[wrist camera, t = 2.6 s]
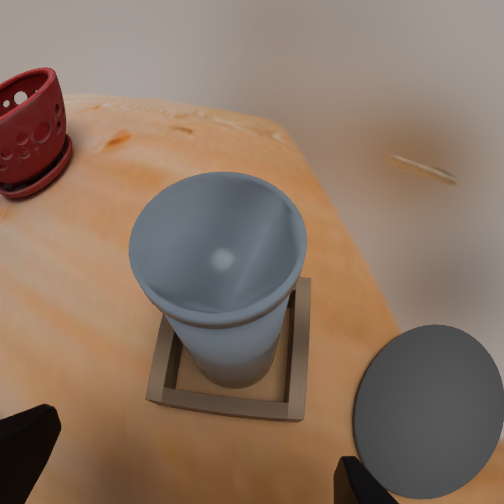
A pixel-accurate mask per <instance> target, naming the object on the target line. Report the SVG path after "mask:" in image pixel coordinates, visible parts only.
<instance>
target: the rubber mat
mask: <svg viewBox="0 0 504 504" xmlns="http://www.w3.org/2000/svg"><path fill="white" fill-rule="evenodd" d="M503 421H504V389H503V384H502V380H501V377H500V374H499V371H498V368H497V366H496V364H495V363H494V361H493V359H492V357H491V356H490V354H489V353H488V352H487V350H486V349H485V348H484V347H483V346H482V345H481V344H480V343H479V342H478V341H477V340H476V339H475V338H473V337H472V336H470V335H469V334H467V333H465V332H464V331H462V330H459V329H457V328H454V327H450V326H445V325H426V326H421V327H417V328H414V329H412V330H409V331H407V332H405V333H403V334H401V335H400V336H398V337H397V338H395V339H394V340H393V341H391V342H390V343H389V344H388V345H386V346H385V347H384V348H383V349H382V350H381V351H380V352H379V353H378V354H377V355H376V357H375V358H374V359H373V361H372V362H371V363H370V365H369V366H368V368H367V370H366V371H365V373H364V375H363V377H362V380H361V382H360V384H359V387H358V390H357V393H356V397H355V402H354V407H353V419H352V422H353V436H354V441H355V446H356V449H357V452H358V455H359V457H360V460H361V462H362V464H363V465H364V467H365V468H366V469H367V470H368V471H369V472H370V473H371V474H372V475H373V476H374V477H375V479H376V480H377V481H378V482H379V483H380V484H381V485H382V486H383V487H384V488H385V489H386V490H388V491H390V492H392V493H394V494H397V495H400V496H404V497H407V498H413V499H432V498H437V497H441V496H444V495H447V494H450V493H452V492H454V491H456V490H458V489H460V488H461V487H462V486H464V485H465V484H467V483H468V482H469V481H470V480H472V479H473V478H474V477H475V476H476V475H477V474H478V473H479V472H480V471H481V469H482V468H483V467H484V466H485V464H486V463H487V461H488V460H489V459H490V457H491V455H492V453H493V451H494V450H495V447H496V445H497V443H498V440H499V438H500V434H501V431H502V427H503Z"/></svg>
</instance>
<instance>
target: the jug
mask: <svg viewBox="0 0 504 504" xmlns="http://www.w3.org/2000/svg"><path fill="white" fill-rule="evenodd" d="M306 247H307V235H306V229H305V225H304V222H303V219H302V217H301V214H300V213H299V211H298V209H297V207H296V206H295V205H294V203H293V202H292V201H291V200H290V199H289V198H288V197H287V196H286V195H285V194H284V193H283V192H282V191H280V190H279V189H278V188H276V187H275V186H273V185H272V184H270V183H268V182H266V181H264V180H261V179H259V178H256V177H253V176H250V175H246V174H241V173H234V172H212V173H205V174H199V175H195V176H192V177H189V178H186V179H183V180H181V181H178V182H176V183H174V184H172V185H171V186H169V187H167V188H166V189H164V190H163V191H161V192H160V193H159V194H158V195H156V196H155V197H154V198H153V199H152V200H151V201H150V202H149V203H148V204H147V205H146V206H145V208H144V209H143V210H142V212H141V213H140V215H139V216H138V218H137V220H136V222H135V224H134V227H133V229H132V233H131V236H130V242H129V258H130V264H131V268H132V271H133V274H134V276H135V278H136V280H137V281H138V283H139V285H140V287H141V288H142V290H143V291H144V293H145V295H146V296H147V297H148V299H149V300H150V301H151V302H152V304H153V305H154V306H156V307H157V308H158V309H159V310H160V311H161V312H163V313H164V315H165V316H166V318H167V319H168V321H169V323H170V324H171V326H172V327H173V329H174V331H175V332H176V334H177V335H178V337H179V338H180V340H181V341H182V343H183V344H184V346H185V347H186V349H187V351H188V352H189V354H190V355H191V357H192V358H193V359H194V361H195V362H196V364H197V365H198V367H199V368H200V370H201V371H202V373H203V374H204V375H205V376H206V377H207V378H208V379H209V380H210V381H211V382H213V383H215V384H217V385H219V386H221V387H224V388H229V389H240V388H245V387H248V386H251V385H253V384H255V383H257V382H258V381H260V380H261V379H262V378H263V377H264V376H265V375H266V374H267V372H268V371H269V369H270V367H271V365H272V362H273V359H274V355H275V351H276V347H277V343H278V339H279V336H280V332H281V328H282V324H283V320H284V316H285V312H286V308H287V304H288V300H289V296H290V293H291V291H292V290H293V288H294V287H295V285H296V283H297V281H298V279H299V276H300V273H301V270H302V266H303V262H304V258H305V254H306Z"/></svg>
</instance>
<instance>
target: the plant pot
mask: <svg viewBox="0 0 504 504" xmlns="http://www.w3.org/2000/svg"><path fill="white" fill-rule="evenodd" d="M36 90H38V91H37V92H35V91H36ZM19 91H23V92H25V93H26V95H27V97H28V99H27V100H26V101H24V102H23V103H22V104H20V105H18V104H16V103H15V101H14V95H15V94H16V93H17V92H19ZM6 100H8V101H9V102H10V104H9V106H8V107H4V106H3V103H4V101H6ZM71 151H72V141H71V138H70V137H69V136H68V135H67V134H66V114H65V107H64V101H63V96H62V92H61V88H60V85H59V81H58V78H57V75H56V73H55V71H54V70H53V69H51V68H38V69H33V70H30V71H26V72H24V73H21V74H19V75H16V76H14V77H13V78H10V79H9V80H7V81H5V82H3V83H2V84H0V193H1V194H2V195H3V196H6V197H9V198H21V197H25V196H28V195H30V194H33V193H35V192H37V191H38V190H40V189H42V188H43V187H45V186H46V185H47V184H49V183H50V182H51V181H52V180H53V179H54V178H56V176H57V175H58V174H59V173H60V172H61V171H62V170H63V168H64V167H65V165H66V164H67V162H68V160H69V157H70V155H71Z"/></svg>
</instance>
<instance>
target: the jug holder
mask: <svg viewBox="0 0 504 504" xmlns="http://www.w3.org/2000/svg"><path fill="white" fill-rule="evenodd" d="M310 297H311V278H302V277H299V279H298V281H297V283H296V285H295V287H294V288H293V290H292V291H291V293H290V296H289V300H288V304H287V307H290V308H291V319H290V334H289V349H288V363H287V376H286V388H285V400H284V403H283V402H270V401H259V400H248V399H239V398H231V397H223V396H215V395H208V394H201V393H195V392H189V391H183V390H177V389H175V385H176V380H177V374H178V368H179V363H180V357H181V352H182V346H183V343H182V341H181V340H180V338H179V337H178V335H177V334H176V332H175V331H174V329H173V327H172V326H171V324H170V323H169V321H168V319H167V318H166V316H165V315H164V313H163V316H162V320H161V325H160V329H159V334H158V338H157V343H156V348H155V352H154V357H153V362H152V367H151V372H150V377H149V382H148V388H147V393H146V400H149V401H151V402H153V403H155V404H158V405H162V406H167V407H172V408H178V409H183V410H189V411H195V412H201V413H208V414H215V415H222V416H230V417H238V418H248V419H258V420H269V421H283V422H299V421H302V420H304V415H305V401H306V387H307V370H308V351H309V328H310Z"/></svg>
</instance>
